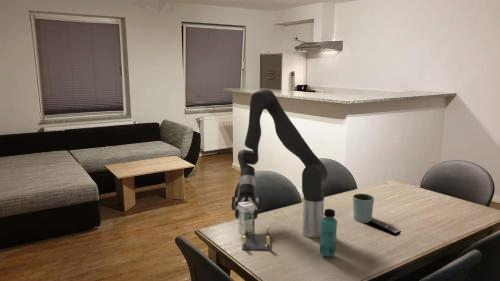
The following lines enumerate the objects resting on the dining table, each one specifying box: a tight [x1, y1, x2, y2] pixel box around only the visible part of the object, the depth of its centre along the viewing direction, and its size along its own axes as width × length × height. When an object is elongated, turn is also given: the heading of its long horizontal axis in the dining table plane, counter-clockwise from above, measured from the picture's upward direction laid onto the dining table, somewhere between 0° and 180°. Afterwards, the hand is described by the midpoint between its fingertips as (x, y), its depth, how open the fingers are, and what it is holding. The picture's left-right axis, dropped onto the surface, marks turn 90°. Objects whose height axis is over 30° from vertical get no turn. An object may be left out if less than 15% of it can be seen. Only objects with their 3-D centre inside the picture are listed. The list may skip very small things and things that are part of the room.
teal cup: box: [352, 193, 375, 224], centre depth 186 cm, size 10×10×12 cm
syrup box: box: [237, 201, 255, 237], centre depth 171 cm, size 6×6×14 cm
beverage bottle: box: [319, 208, 338, 257], centre depth 150 cm, size 6×7×20 cm
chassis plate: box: [241, 225, 271, 251], centre depth 162 cm, size 12×12×6 cm
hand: (246, 218), depth 170 cm, fingers closed on syrup box, 7 cm apart
